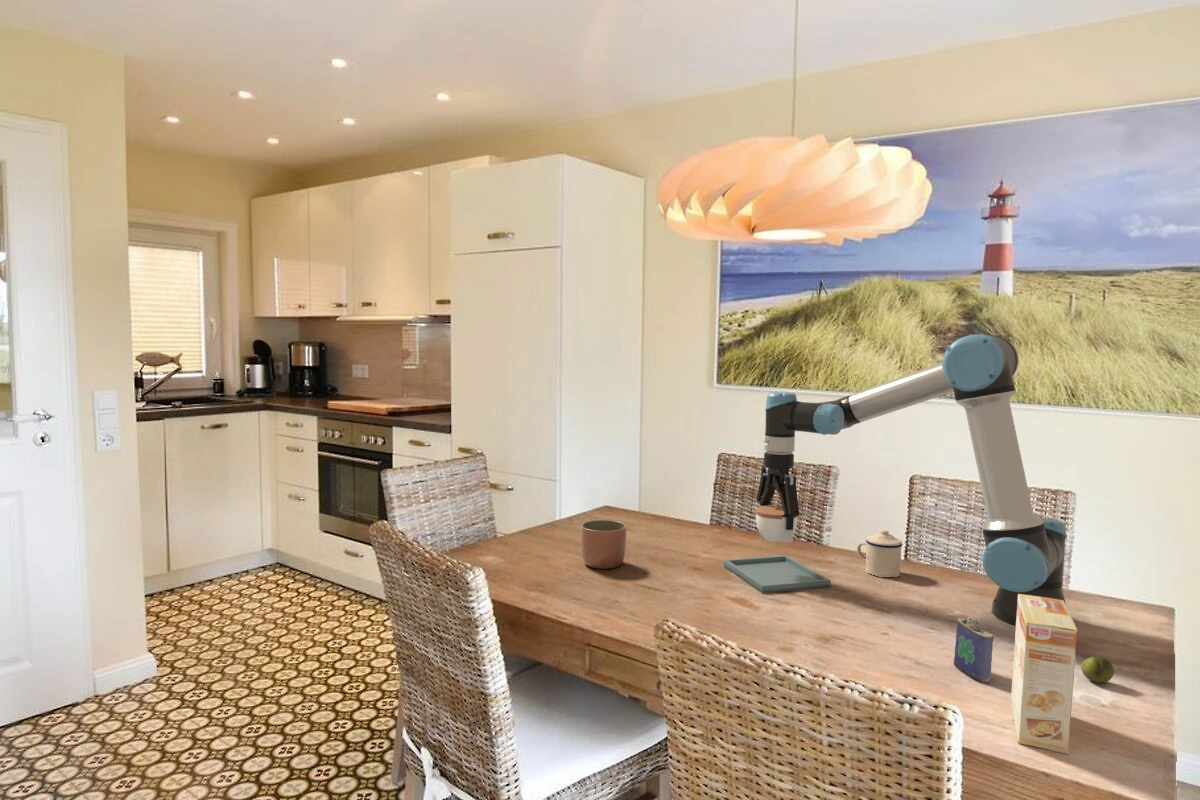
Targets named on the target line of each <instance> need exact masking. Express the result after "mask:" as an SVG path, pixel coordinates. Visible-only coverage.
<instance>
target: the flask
mask: <svg viewBox="0 0 1200 800" xmlns="http://www.w3.org/2000/svg"><path fill="white" fill-rule="evenodd" d="M980 622H981V620H980V618H975V617H970V616H969V617H967V618H958V619H957V620H956V632H955V647H954V657H953V659H954V660H953V665H954V667H955V668H956V669H958V671H960V672H962V673H964V675H966V676H967V677H969V678H970V679H972V680H974V681H975V682H978V683H980V684H982V685H987V684H991V681H992V661H993V644H994V635H993V634H992V633H989V632H988V631H985V629H982V628H981V627H979V623H980Z"/></svg>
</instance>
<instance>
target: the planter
mask: <svg viewBox="0 0 1200 800" xmlns="http://www.w3.org/2000/svg"><path fill="white" fill-rule="evenodd" d="M580 533H581V534H580V538H581V539H580V540H581V544H580V545H581V555H582V561H583V562H584V564H585V565H587V566H588V567H590V568H593V569H600V570H602V569H603V570H604V569H605V570H607V569H613V568H614V569H615V568H617V567H619V566H621V565H622V563H623V562H624V559H625V557H626V555H625V554H626V545H627V544H626V543H627V542H626V541H627V524H625V523H624V522H622V521H618V520H610V519H597V520H596V519H595V520H588V521H585V522H582V524H580Z"/></svg>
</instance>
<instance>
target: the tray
mask: <svg viewBox="0 0 1200 800" xmlns="http://www.w3.org/2000/svg"><path fill="white" fill-rule="evenodd" d="M722 565H723V567H724V568H725V569H727V571H729V572H731V573H732V574H734V575H736V576H737V577H738V578H739V579H741V580H742V581H744V582H745V583H746V584H747V585H749V586H751V587H752V588H754V589H755V590H757V591H758V592H759V593H761V594H767V593H770V594H771V593H779V592H780V593H781V592H789V591H791V592H794V591H802V590H803V589H804V590H812V589H813V590H815V589H814V588H816V589H825V587H827V588H831V579H830V578H827V577H825V576H824V575H822V574H820V573H819V572H817V571H815V570H813V569H811V568H810V567H808V566H806V565H804V564H802V562H801V563H800V562H799V561H797V560H795V559H794V558H792V557H790V556H789V555H785V554H784V555H771V556H759V557H744V558H731V559H730V558H729V559H723V564H722Z"/></svg>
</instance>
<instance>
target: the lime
mask: <svg viewBox="0 0 1200 800" xmlns="http://www.w3.org/2000/svg"><path fill="white" fill-rule="evenodd" d="M1080 669H1081V672H1082V674H1083V676H1084V677H1085V678H1086V679H1088V680H1089V681H1091V682H1092V683H1097V684H1104V683H1107V682H1109V681H1110V680H1111V679H1113V676H1114V674H1115V668H1114V666H1113V664H1112V662H1111V661H1110V660H1108V659H1107V658H1105V657H1102V656H1090V657H1089V658H1086V659H1084V660H1083V661H1082V663H1081V668H1080Z"/></svg>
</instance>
